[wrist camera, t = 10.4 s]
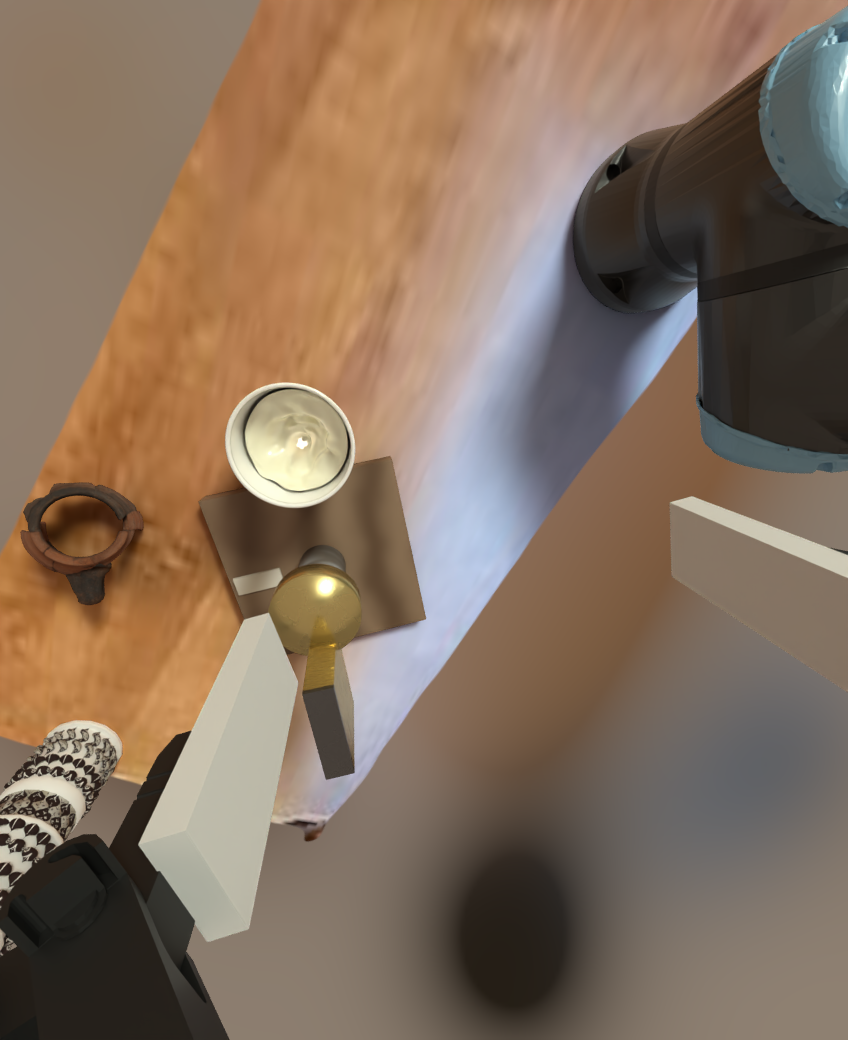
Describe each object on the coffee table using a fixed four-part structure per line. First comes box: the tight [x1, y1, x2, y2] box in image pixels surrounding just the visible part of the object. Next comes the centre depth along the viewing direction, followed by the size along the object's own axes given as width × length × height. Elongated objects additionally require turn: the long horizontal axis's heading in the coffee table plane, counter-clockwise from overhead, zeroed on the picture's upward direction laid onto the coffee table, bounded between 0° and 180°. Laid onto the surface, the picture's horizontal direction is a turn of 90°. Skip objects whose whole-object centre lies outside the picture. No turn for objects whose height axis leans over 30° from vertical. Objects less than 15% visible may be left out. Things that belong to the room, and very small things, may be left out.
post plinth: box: [199, 456, 426, 655], centre depth 45 cm, size 20×20×10 cm
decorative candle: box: [0, 720, 122, 957], centre depth 41 cm, size 9×9×25 cm
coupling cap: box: [268, 564, 362, 780], centre depth 37 cm, size 16×8×8 cm, turn 8°
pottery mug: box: [21, 483, 143, 605], centre depth 42 cm, size 12×10×8 cm
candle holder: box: [225, 383, 355, 508], centre depth 39 cm, size 10×10×12 cm
